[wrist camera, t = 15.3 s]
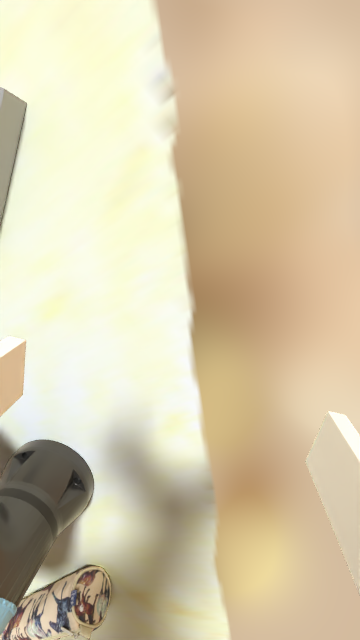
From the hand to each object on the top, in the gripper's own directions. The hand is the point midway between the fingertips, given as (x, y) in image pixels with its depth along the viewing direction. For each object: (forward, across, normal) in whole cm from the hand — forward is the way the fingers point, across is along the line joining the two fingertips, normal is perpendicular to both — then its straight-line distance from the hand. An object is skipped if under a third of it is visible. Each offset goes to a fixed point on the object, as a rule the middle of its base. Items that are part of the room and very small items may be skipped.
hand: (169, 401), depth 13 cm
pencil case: (+29, -10, -66) cm, 73 cm away
